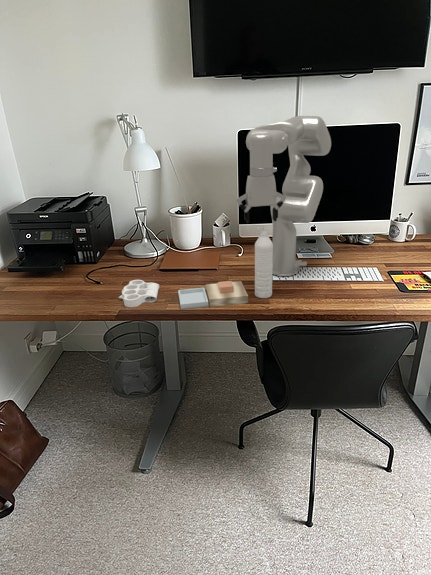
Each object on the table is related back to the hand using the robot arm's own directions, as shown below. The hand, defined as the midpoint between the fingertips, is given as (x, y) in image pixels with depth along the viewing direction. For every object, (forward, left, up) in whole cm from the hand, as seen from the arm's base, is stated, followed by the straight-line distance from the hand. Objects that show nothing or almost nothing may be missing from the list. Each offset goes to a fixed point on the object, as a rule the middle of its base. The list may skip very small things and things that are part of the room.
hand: (261, 221), depth 158 cm
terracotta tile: (+13, 0, -25) cm, 29 cm away
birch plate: (+13, 0, -28) cm, 31 cm away
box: (+26, 0, -28) cm, 38 cm away
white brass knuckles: (+46, -8, -29) cm, 55 cm away
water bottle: (-1, 0, -29) cm, 29 cm away
